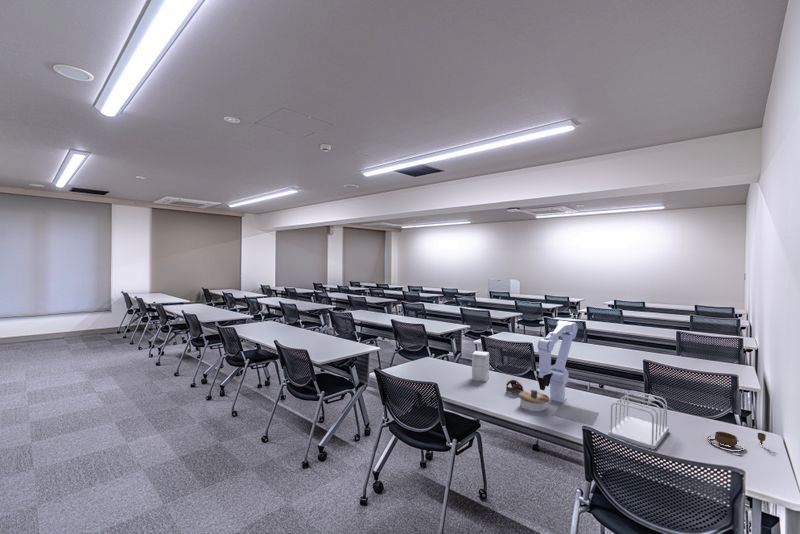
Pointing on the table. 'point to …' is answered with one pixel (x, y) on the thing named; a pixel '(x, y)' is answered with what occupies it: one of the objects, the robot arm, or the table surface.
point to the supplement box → (480, 366)
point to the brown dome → (514, 386)
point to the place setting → (732, 438)
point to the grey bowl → (532, 406)
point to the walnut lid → (534, 397)
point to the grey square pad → (576, 414)
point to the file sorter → (640, 424)
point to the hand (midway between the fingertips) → (544, 387)
